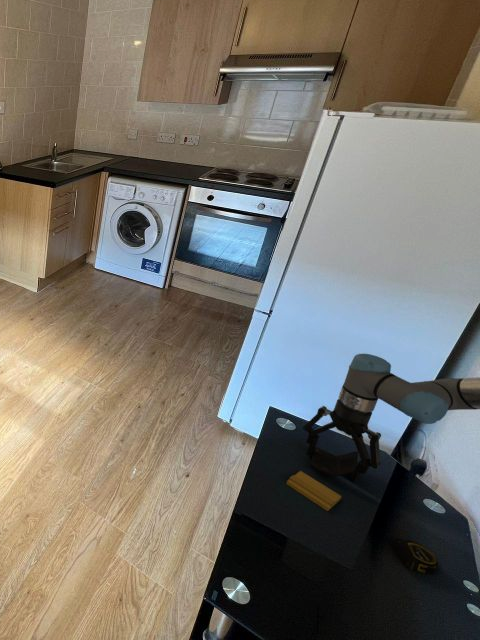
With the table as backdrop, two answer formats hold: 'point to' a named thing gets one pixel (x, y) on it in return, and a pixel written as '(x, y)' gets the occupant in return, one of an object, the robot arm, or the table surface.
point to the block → (314, 490)
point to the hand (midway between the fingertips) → (331, 465)
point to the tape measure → (415, 556)
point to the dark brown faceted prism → (333, 463)
